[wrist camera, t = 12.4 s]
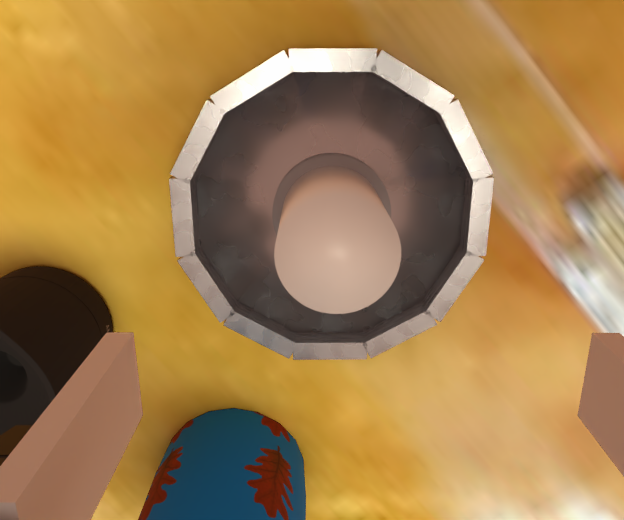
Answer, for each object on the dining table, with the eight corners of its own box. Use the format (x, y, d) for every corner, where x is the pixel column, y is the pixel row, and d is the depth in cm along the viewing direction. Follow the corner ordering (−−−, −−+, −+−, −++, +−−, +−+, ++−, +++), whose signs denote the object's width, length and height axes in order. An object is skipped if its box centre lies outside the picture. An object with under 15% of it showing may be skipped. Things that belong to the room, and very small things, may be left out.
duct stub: (274, 265, 36) (263, 325, 27) (271, 152, 34) (258, 180, 25) (386, 264, 36) (409, 324, 27) (391, 152, 34) (418, 179, 25)
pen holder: (61, 406, 40) (-16, 509, 31) (-47, 319, 38) (-165, 401, 29) (149, 327, 38) (96, 411, 29) (41, 229, 36) (-55, 286, 27)
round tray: (168, 50, 33) (157, 48, 30) (493, 49, 33) (507, 48, 30) (191, 342, 39) (184, 359, 36) (465, 342, 39) (475, 358, 36)
